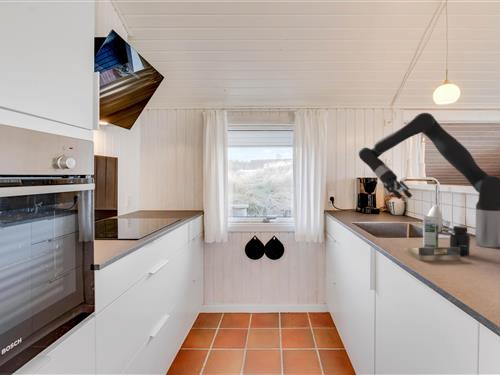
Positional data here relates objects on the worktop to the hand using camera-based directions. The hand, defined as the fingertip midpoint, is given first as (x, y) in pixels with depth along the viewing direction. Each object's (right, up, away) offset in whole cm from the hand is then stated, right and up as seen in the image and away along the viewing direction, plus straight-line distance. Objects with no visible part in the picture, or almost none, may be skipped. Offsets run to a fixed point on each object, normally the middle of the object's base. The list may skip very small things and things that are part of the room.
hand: (405, 197), depth 144 cm
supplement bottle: (+11, -24, -22) cm, 34 cm away
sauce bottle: (+30, -22, +24) cm, 44 cm away
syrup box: (+6, -24, -9) cm, 26 cm away
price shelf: (-3, -24, -24) cm, 34 cm away
